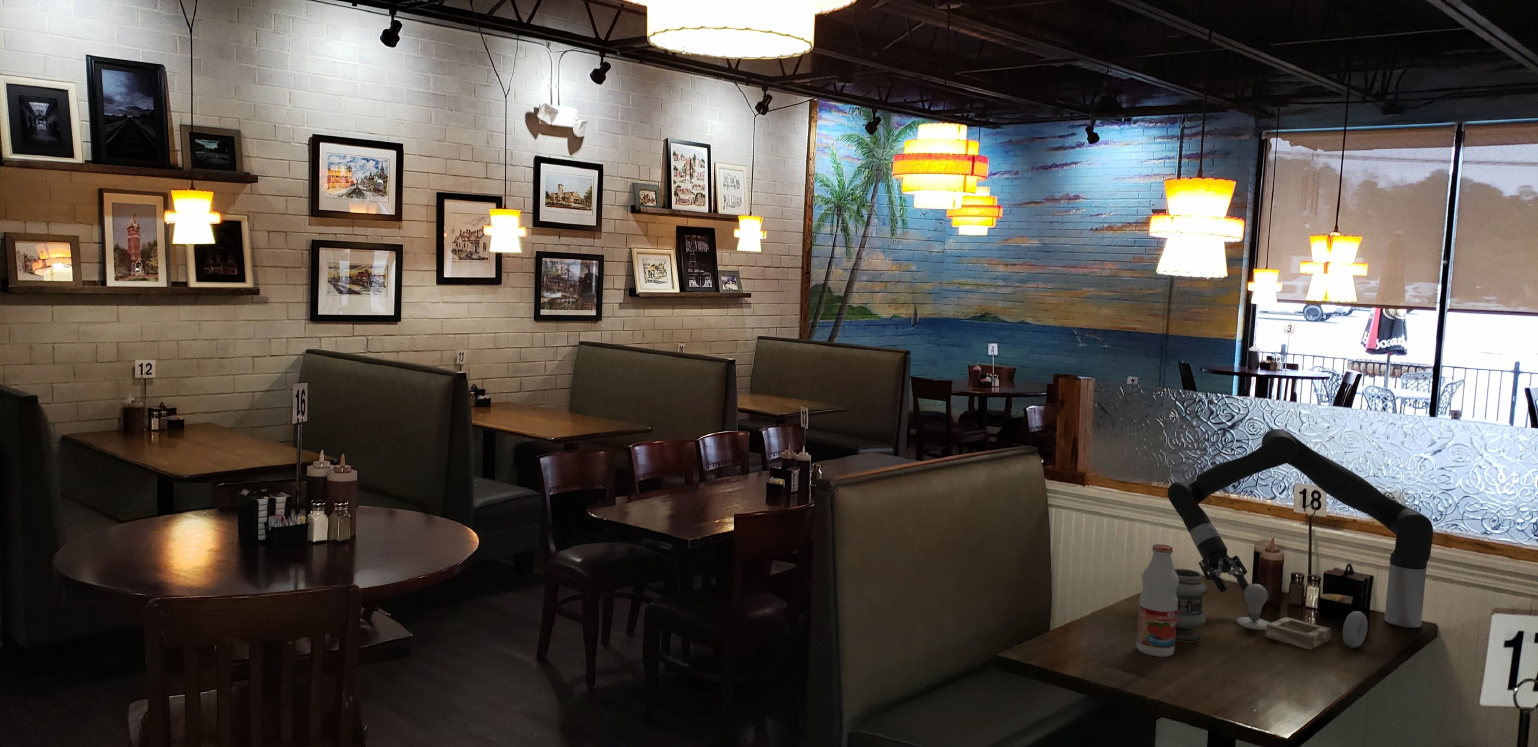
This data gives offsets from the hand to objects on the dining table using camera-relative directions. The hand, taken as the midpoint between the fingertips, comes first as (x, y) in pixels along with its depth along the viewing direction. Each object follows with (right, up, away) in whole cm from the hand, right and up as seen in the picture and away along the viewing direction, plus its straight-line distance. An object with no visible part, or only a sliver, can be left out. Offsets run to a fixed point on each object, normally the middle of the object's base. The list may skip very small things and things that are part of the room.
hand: (1235, 590), depth 311 cm
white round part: (+3, -9, -6) cm, 11 cm away
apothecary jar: (-23, -9, -19) cm, 31 cm away
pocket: (+10, -10, -17) cm, 22 cm away
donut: (+22, -11, -22) cm, 33 cm away
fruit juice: (-35, -10, -31) cm, 48 cm away
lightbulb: (+3, -8, -6) cm, 10 cm away
